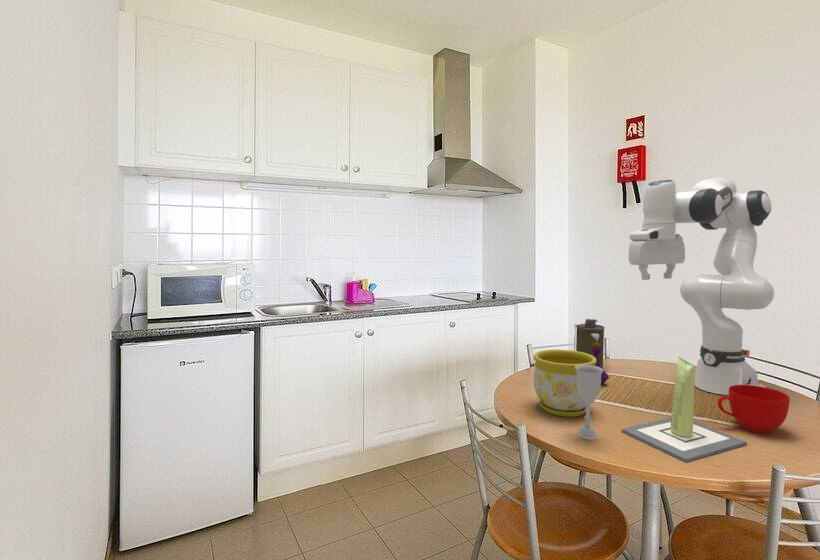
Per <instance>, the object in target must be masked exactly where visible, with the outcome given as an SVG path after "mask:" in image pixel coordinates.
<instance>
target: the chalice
mask: <svg viewBox="0 0 820 560" xmlns="http://www.w3.org/2000/svg"><path fill="white" fill-rule="evenodd" d="M575 369H576V371H577V389H578V392H579V395H580V397H581V399H582V401H583V402H584V403H586V409H585V411H586V412H585V415H584V417H583V418H584V419H585V423H584V424H582V425H581V426H580V427H579V429H578V432H576V433H577V434H576V435H577V436H578V437H579V438H582V439H585V440H589V441H590V440H593V441H594V440H596V439H598V434H597V431H596V429H595V428H594V426H592V425H591V424H590V420H592V417H591V415H590V414H591V412H592V410H591V405H592V404H594V403H595V401H596V400H597V398H598V396H599V394H600V392H601V388H602V385H601V374H602V372H603V370H604V368H603V369H602V368H600V367H597V366H593V365H577V366H575Z"/></svg>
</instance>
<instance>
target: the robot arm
mask: <svg viewBox="0 0 820 560" xmlns="http://www.w3.org/2000/svg"><path fill="white" fill-rule="evenodd" d="M676 186H677V185H676V182H675V180H673V179H663V180H655V181H652V182H649V183H648V184H646V186H645V190H644V195H643V205H642V211H643V221H642V228H640V229H637V230H635V231H633V232H630V233H629V240H630V243H629V246H628V262H629V264H630V265H633V266H638V270H639V272H640V274H641V280H642V281H649V280H650V279H651V273H649V272H648V269H649V265H653V266H654V265H665V268H666V270H665V272H663V279H666V280H667V279H670V280H671V279H672V278H673V273H674V271H675V269H676V264H677V265H678V264H683V263H684V262H685V260H686V247H685V242H684V238H683V237H682V236H681V235H680V234H679V233H676V228H677V227H676V226H677V224H690V223H691V224H693V223H694V224H695V223H697V224H698V223H699V225H700V226H701V228H702V229H704V230H707V231H709V230H710V231H715V230H719V229H725V231H724V233H723V235H722V237H721V239H720V241H719V243H718V246H717V249H716V253H715V256H714V259H713V267H714V269H715V270H716V271H717V272H718V274H695V275H689V276H687V277H685V278H684V279H683V281H682V282H681V284H680V288H679V290H680V291H679V292H680V296H681V297H682V299H683V300H684V302H686V303H687V304H688V305H689V306H691V308H692V309H694V311H695V313H696V314H697V316H698V317H699V319H700V320H699V321H700V323H701V329H702V330H701V331H702V334H701V335H702V338H701V339H702V344H701V346H700V349H699V356H700V358H699V359H698V360H697V362H696V370H695V373H694V387H696V388H697V389H699V390H702V391H704V392H709V393H713V394H718V395H721V396H722V395H723V396H729V387H730V386H733V385H752V386H760V387H765V388H767V386H766V385H764V384H761V383H759V382H758V371H756V369H754V368H753V367H752V366H751V365H750V364H749V363H748V362H747V361H746V358H745V356H746V357H750V353H751V351H750V349H744V348H743V335H744V334H743V333H744V330H743V327H742V326H741V324H740V323H739V322H737V321H736V320H734V319H732V318H730V317H728V316H727V315H726V314H725V313H724V312H723V309H735V310H745V311H747V310H748V311H749V310H763V309H765V308H767V307H769V305H770V304H771V303H772V302H773V300H774V297H775V290H774V287H773V285H772V283H770V281H769V280H768V279H767V278H764V277H762V276H760V275H759V274H758V273H757V272H756V271H755V269H754V263H755V262H754V260H755V256H756V252H757V247H758V235H757V231H756V229H755V226H756V227H761V226H762V225H763V224H764V221H765V220H767V218H768V217H769V216H770V214H771V211H772V201H771V199H770V197H769V195H768V193H767V192H766V191H764V190H759V189H757V190H755V189H754V190H748V192H741V193H737V189H738V188H737V186H736V183H735V182H734V181H733V180H732V179H730V178H727V177H720V176H719V177H710V178H707V179H703V180H701V181H699V182H697V183H696V184H694V185H693V186H692V187H691V188H690V190H687V191H679V192H678V191H677V190H676V189H677V188H676Z"/></svg>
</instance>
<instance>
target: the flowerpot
mask: <svg viewBox="0 0 820 560" xmlns="http://www.w3.org/2000/svg"><path fill="white" fill-rule="evenodd" d="M533 359H534V373H533V387H534V390H535V391H534V392H535V394H536V395H537V398H538V400H539V401H538V404H539V405H540V407H541V408H542V409H543V411H545V412H546V413H549V414H551V415H554V416H557V417H568V418H571V417H572V418H573V417H580V416H583V415H584V414H586V411H585V409H586V403H584V402H583V401H582V399H581V397H580V395H579V392H578V389H577V371H576V369H575V366H577V365H593V366H594V365H595V364H596V363H597V360H596V358H595V357H594V356H592V355H590V354H587V353H583V352H578V351H576V350H575V351H574V350H571V349H570V350H569V349H543V350H540V351H537V352H535V353H534V354H533Z"/></svg>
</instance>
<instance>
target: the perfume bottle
mask: <svg viewBox="0 0 820 560" xmlns="http://www.w3.org/2000/svg"><path fill="white" fill-rule="evenodd" d="M591 337H592V338H595V339H596V341H597V340H598V339H599V334H591ZM591 350H592V351H593V356H594V357H595V358H596V360H597V363H596V364H595V365H594V366H597V367H600V368H602V367H601V365H600V364H599V360H598V357H599V353H600V352H601V351H603V348H601V344H599V343H593V347H591ZM603 352H604V351H603ZM602 369H603V372H602V374H601V386H602V385H604V384H605V383H606V381H607V380H608V379H610V376H609V375H608V374H607V372H606V371H605V370H604V367H603V368H602Z"/></svg>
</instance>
